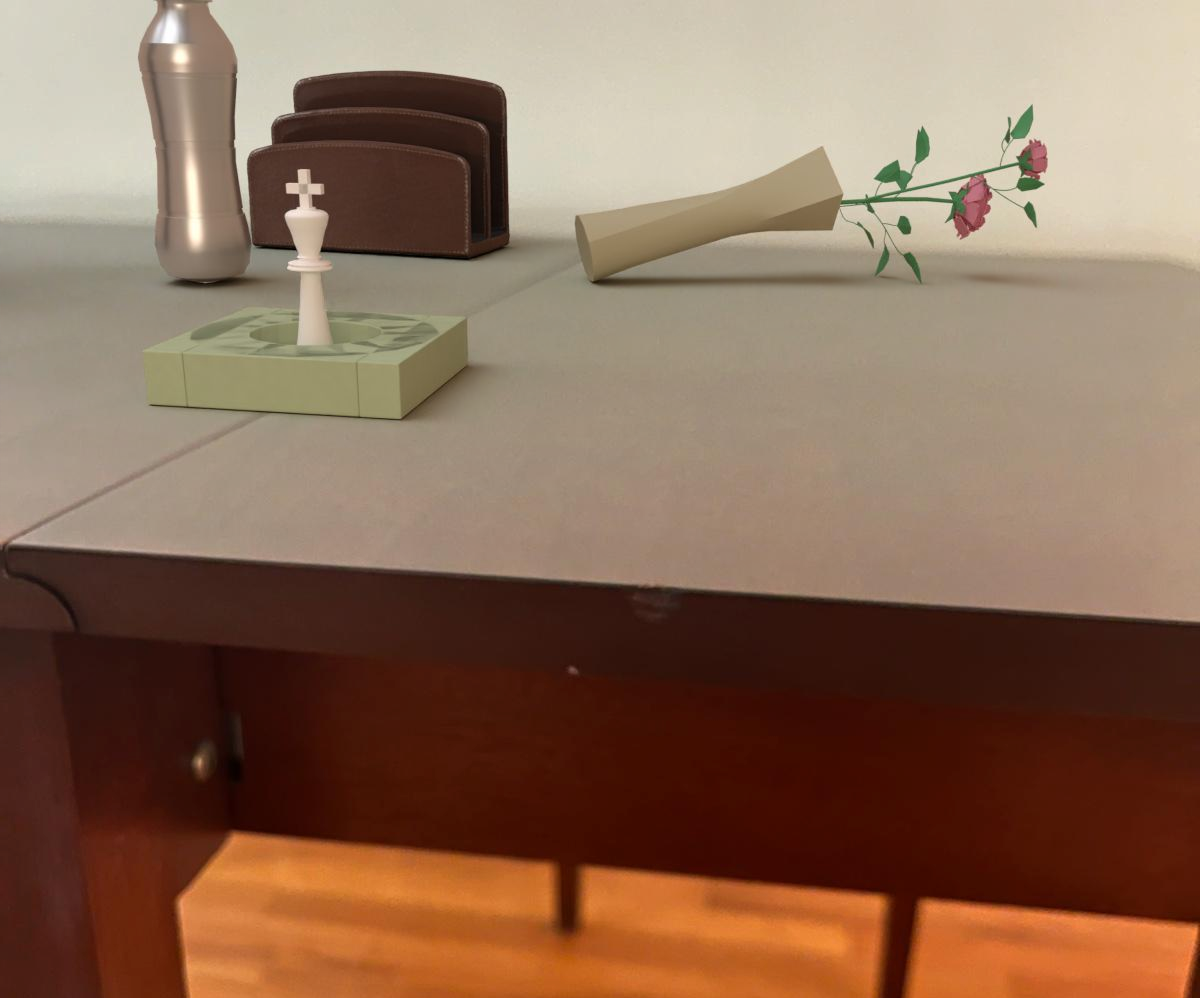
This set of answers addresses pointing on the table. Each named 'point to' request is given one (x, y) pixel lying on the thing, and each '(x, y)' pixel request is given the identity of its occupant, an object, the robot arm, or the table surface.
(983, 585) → the table surface
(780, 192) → the flower vase
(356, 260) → the table surface
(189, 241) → the metallic bottle
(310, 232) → the chess piece
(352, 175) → the letter holder
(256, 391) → the green ashtray
